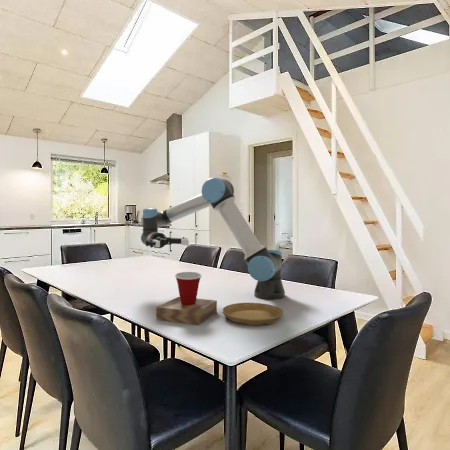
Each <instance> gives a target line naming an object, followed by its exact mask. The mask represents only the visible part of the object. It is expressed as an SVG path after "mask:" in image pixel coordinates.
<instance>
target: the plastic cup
mask: <svg viewBox="0 0 450 450" xmlns="http://www.w3.org/2000/svg"><path fill="white" fill-rule="evenodd" d="M174 277H175V279H176V282H177V289H178V294H179V297H180V300H181V304H183V305H193V304H195V302H196V298H197V296H198V290H199V285H200V281H201V278H202V273H200V272H195V271H181V272H177V273H175V274H174Z"/></svg>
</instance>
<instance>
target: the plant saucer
mask: <svg viewBox="0 0 450 450" xmlns="http://www.w3.org/2000/svg"><path fill="white" fill-rule="evenodd" d="M222 313H223V314H224V316H225V317H226V318H227V319H228V320H230V321H232V322H233V323H237V324H242V325H246V326H264V325H270V324H274V323H276V322H278V321H279V320H280V319H281V318H282V316H283V315H284V310H283V309H282V308H280V307H278V306H275V305H272V304H267V303H262V302H261V303H260V302H237V303H231V304H229V305H226V306H224V307H223V308H222Z"/></svg>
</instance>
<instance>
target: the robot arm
mask: <svg viewBox="0 0 450 450" xmlns="http://www.w3.org/2000/svg"><path fill="white" fill-rule="evenodd" d="M234 194H235V188H234V186H233V184H232V183H231V182H230V180H227V179H223V178H220V177H210V178H207V180H205V181H204V182H203V184H202V187H201V194H198V195H196V196H194V197H192V198H189V199H187V200H185V201H182V202H180V203H178V204H175V205H174V206H171V207H169V208H166V209H165V210H161V211H158V209H157V208H154V207H153V208H151V207H150V208H143V209H142V233H141V235H140V242H141V243H142V244H143V245H145V247H149V248H153V249H162V248H164V247H165V246H168V245H169V246H171V245H174V244H175V245H183V246H189V245H190V244H189V239H188V238H186V237H185V236H183V237H172V236H171V237H169V236H168V237H167V236H166V235H165V234H164V233H163V232H159V230H158V229H159V227H162V226H163V227H166V226H168V225H170V224H171V223H174V222H175V221H177V220H181V219H182V218H185V217H187V216H190V215H192V214H194V213H197V212H199V211H202V210H205V209H207V208H209V207H212V209H213V210H214V211H215V212H219V214H220V216H221V217H222V219H223V221H224V222H225V224H226V226H227V228H228V229H229V231H230V232H231V233H232V235H233V237H234V239H235V240H236V242H237V244H238V246H239V247H240V249H241V250H242V252H243V253H244V259H243V260H244V262H245V263H246V265H247V270H248V275H250V277H251V278H252V279H253V280H255V281H256V284H255V287H254V290H253V291H254V294H253V295H254V297H256V298H259V299H265V300H279V299H283V298H285V297H286V291H285V288H284V285H283V284H284V283H283V281H282V268H283V267H282V258H283V255H282V254H283V253H282V251H281V250H279V249H267V247H266V246H265V245H262V244H261V243H260V242H259V240H258V238H257V236H256V235H255V234H254V232H253V230H252V229H251V227H250V226H249V225H250V224H248V222H247V221H246V219H245V217H244V215H243V214H242V212H241V211H240V210H239V207H238V206H237V204H236V202H235V200H236V197H235V195H234Z"/></svg>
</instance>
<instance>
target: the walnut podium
mask: <svg viewBox="0 0 450 450" xmlns="http://www.w3.org/2000/svg"><path fill="white" fill-rule="evenodd" d="M217 303H218V300H216V299H215V300H213V299H204V298H197V297H196V302H195V304H193V305H183V304H181V300H180V296H177V297H175V298H173V299H171V300H168V301H166V302H164V303H161V304H159V305H158V306H156V308H155V309H156V312H155V314H156V316H155V317H156V318H155V320H157V321H164V322H171V323H172V322H173V323H179V324H187V325H194V326H199V325H201V324H202V323H203V322H205V321H206V320H208V319H209V318H211V317H212V316H213V315H215V314H217V312H218V304H217Z"/></svg>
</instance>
